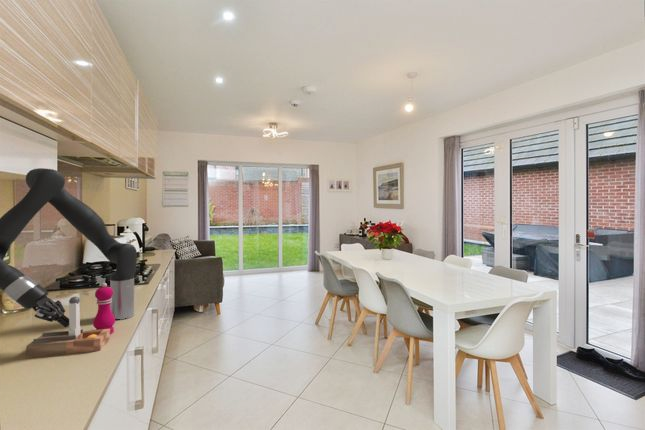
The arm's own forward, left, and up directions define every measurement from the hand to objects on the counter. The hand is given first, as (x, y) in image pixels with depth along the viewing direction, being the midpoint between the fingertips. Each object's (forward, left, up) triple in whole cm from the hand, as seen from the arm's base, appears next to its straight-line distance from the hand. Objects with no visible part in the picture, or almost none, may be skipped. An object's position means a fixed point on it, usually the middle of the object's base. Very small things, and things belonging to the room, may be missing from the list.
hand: (69, 324), depth 114 cm
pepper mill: (-12, +7, -8) cm, 16 cm away
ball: (0, +7, -6) cm, 9 cm away
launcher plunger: (0, +2, -4) cm, 5 cm away
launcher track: (0, 0, -8) cm, 8 cm away
